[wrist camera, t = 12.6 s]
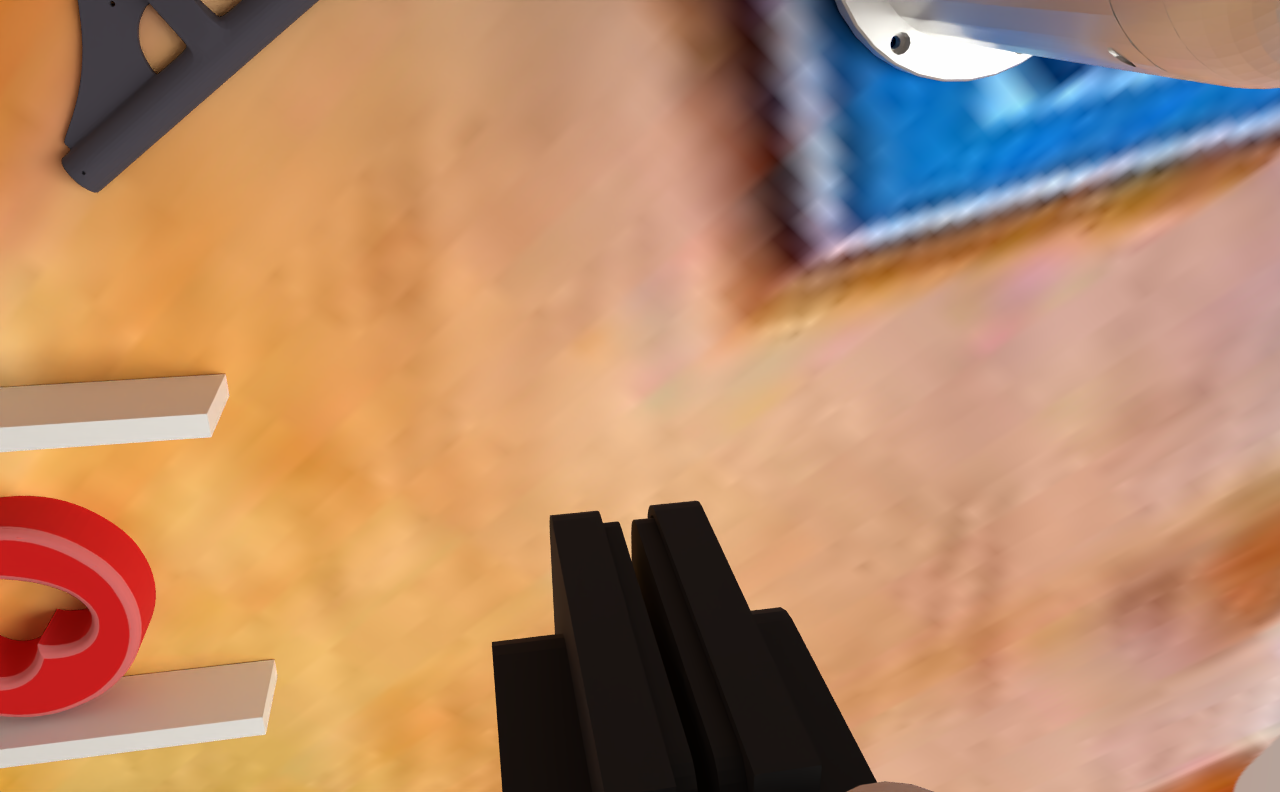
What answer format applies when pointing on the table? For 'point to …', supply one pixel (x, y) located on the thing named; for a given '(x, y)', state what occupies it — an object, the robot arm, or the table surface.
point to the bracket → (156, 75)
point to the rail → (146, 702)
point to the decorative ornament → (74, 639)
